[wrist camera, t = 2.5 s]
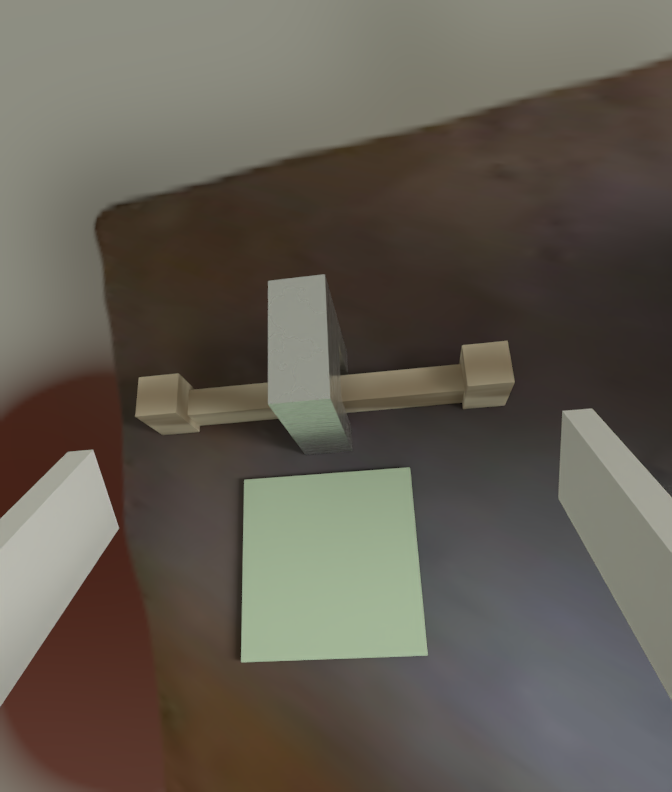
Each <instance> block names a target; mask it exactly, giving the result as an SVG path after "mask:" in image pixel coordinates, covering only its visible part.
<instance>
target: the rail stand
mask: <svg viewBox="0 0 672 792" xmlns="http://www.w3.org/2000/svg"><path fill="white" fill-rule="evenodd" d="M340 379H341V398H342V402H343V405H344V407H345V410H346V413H351V412H362V411H374V410H385V409H396V408H408V407H419V406H431V405H442V404H453V403H462V407H463V409H470V408H482V407H494V406H505V404H506V402H507V399H508V397H509V395H510V392H511V390H512V388H513V385H514V383H515V380H514V375H513V369H512V363H511V357H510V352H509V346H508V341H500V342H490V343H480V344H470V345H462V349H461V355H460V361H459V364H457V365H446V366H436V367H425V368H415V369H404V370H394V371H383V372H373V373H362V374H352V375H341V376H340ZM135 417H137V418H138V419H139V420H141V421H142V422H144V423H145V424H147V425H148V426H150V427H151V428H153V429H154V430H156V431H157V432H159V433H160V434H162V435H169V434H181V433H193V432H200V426H203V425H214V424H225V423H237V422H248V421H260V420H271V419H278V417H277V416H276V415H275V413H274V412H273V411H272V409H271V408H270V406H269V405H268V383H258V384H247V385H237V386H226V387H216V388H205V389H194V388H193V387H192V386H191V385H190V384H189V383H188V382H187V381H186V380H185V379H184V378H183V377H182V376H181V375H180V374H179V373H178V374H168V375H158V376H148V377H139V381H138V392H137V402H136V413H135Z"/></svg>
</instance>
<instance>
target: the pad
mask: <svg viewBox="0 0 672 792" xmlns="http://www.w3.org/2000/svg"><path fill="white" fill-rule="evenodd" d="M427 655H428V653H427V642H426V632H425V621H424V610H423V600H422V589H421V579H420V568H419V557H418V547H417V536H416V525H415V515H414V504H413V494H412V483H411V472H410V467H407V468H393V469H380V470H367V471H354V472H340V473H327V474H314V475H301V476H287V477H274V478H261V479H248V480H244V517H243V575H242V633H241V662H264V661H291V660H318V659H346V658H373V657H400V656H427Z"/></svg>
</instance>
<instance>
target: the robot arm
mask: <svg viewBox="0 0 672 792" xmlns="http://www.w3.org/2000/svg"><path fill="white" fill-rule="evenodd" d="M558 498H559V500H560V502H561V504H562V506H563V507H564V509H565V511H566V513H567V515H568V516H569V518H570V520H571V522H572V523H573V525H574V527H575V529H576V531H577V532H578V534H579V536H580V538H581V540H582V541H583V543H584V545H585V547H586V549H587V550H588V552H589V554H590V556H591V557H592V559H593V561H594V563H595V565H596V566H597V568H598V570H599V572H600V574H601V575H602V577H603V579H604V581H605V582H606V584H607V586H608V588H609V590H610V591H611V593H612V595H613V597H614V599H615V600H616V602H617V604H618V606H619V607H620V609H621V611H622V613H623V615H624V616H625V618H626V620H627V622H628V624H629V625H630V627H631V629H632V631H633V632H634V634H635V636H636V638H637V640H638V641H639V643H640V645H641V647H642V649H643V650H644V652H645V654H646V656H647V657H648V659H649V661H650V663H651V665H652V666H653V668H654V670H655V672H656V674H657V675H658V677H659V679H660V681H661V683H662V684H663V686H664V688H665V690H666V691H667V693H668V695H669V697H670V699H671V700H672V497H671V496H670V495H669V494H668V493H667V492H666V491H665V489H664V488H663V487H662V486H661V485H660V484H659V483H658V482H657V480H656V479H655V478H654V477H653V476H652V475H651V474H650V473H649V472H648V470H647V469H646V468H645V467H644V466H643V465H642V464H641V463H640V461H639V460H638V459H637V458H636V457H635V456H634V455H633V454H632V452H631V451H630V450H629V449H628V448H627V447H626V446H625V445H624V444H623V442H622V441H621V440H620V439H619V438H618V437H617V436H616V435H615V433H614V432H613V431H612V430H611V429H610V428H609V427H608V426H607V424H606V423H605V422H604V421H603V420H602V419H601V418H600V417H599V416H598V414H597V413H596V412H595V411H594V410H593V409H592V408H591V409H579V410H567V411H562V430H561V451H560V472H559V494H558ZM118 529H119V527H118V524H117V521H116V518H115V514H114V512H113V508H112V505H111V502H110V499H109V496H108V493H107V490H106V487H105V484H104V481H103V478H102V475H101V472H100V470H99V466H98V463H97V460H96V457H95V454H94V451H93V450H84V451H72V452H67V453H66V454H65V455H64V456H63V457H62V458H61V459H60V460H59V461H58V462H57V463H56V464H55V465H54V466H53V467H52V468H51V469H50V470H49V471H48V472H47V473H46V474H45V475H44V476H43V477H42V478H41V479H40V480H39V481H38V482H37V483H36V484H35V485H34V486H33V487H32V488H31V489H30V490H29V491H28V492H27V493H26V494H25V495H24V496H23V497H22V498H21V499H20V500H19V501H18V502H17V503H16V504H15V505H14V506H13V507H12V508H11V509H10V510H9V511H8V512H7V513H6V514H5V515H4V516H3V517H2V518H1V519H0V706H1V705H2V703H3V702H4V700H5V699H6V697H7V696H8V694H9V693H10V691H11V690H12V688H13V687H14V685H15V684H16V682H17V681H18V679H19V678H20V676H21V675H22V673H23V672H24V670H25V668H26V667H27V666H28V664H29V663H30V661H31V660H32V658H33V657H34V655H35V654H36V652H37V651H38V649H39V648H40V646H41V645H42V643H43V642H44V640H45V639H46V637H47V636H48V634H49V633H50V631H51V629H52V628H53V627H54V625H55V624H56V622H57V621H58V619H59V617H60V616H61V615H62V613H63V612H64V610H65V609H66V607H67V606H68V604H69V603H70V601H71V600H72V598H73V597H74V595H75V594H76V592H77V591H78V589H79V588H80V586H81V585H82V583H83V581H84V580H85V579H86V577H87V575H88V574H89V573H90V571H91V570H92V568H93V567H94V565H95V564H96V562H97V561H98V559H99V558H100V556H101V554H102V553H103V552H104V550H105V549H106V547H107V545H108V544H109V543H110V541H111V540H112V538H113V536H114V535H115V534H116V532H117V531H118Z"/></svg>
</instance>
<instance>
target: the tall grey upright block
mask: <svg viewBox="0 0 672 792" xmlns="http://www.w3.org/2000/svg"><path fill="white" fill-rule="evenodd" d="M341 375H348V361H347V351H346V347H345V343H344V340H343V336H342V333H341V329H340V326H339V322H338V319H337V315H336V312H335V308H334V305H333V301H332V297H331V294H330V290H329V287H328V283H327V280H326V276H325V274H323V275H314V276H306V277H297V278H289V279H280V280H272V281H268V405H269V406H270V408H271V409H272V411H273V412H274V413H275V415H276V416H277V417H278V419H279V420H280V421H281V423H282V424H283V425H284V427H285V428H286V429H287V431H288V432H289V433H290V435H291V436H292V437H293V439H294V440H295V441H296V443H297V444H298V445H299V447H300V448H301V450H302V451H303V452H304V454H305V455H311V454H324V453H336V452H349V451H353V450H352V432H351V424H350V421H349V418H348V415H347V413H346V410H345V407H344V405H343V402H342V398H341V379H340V376H341Z"/></svg>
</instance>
